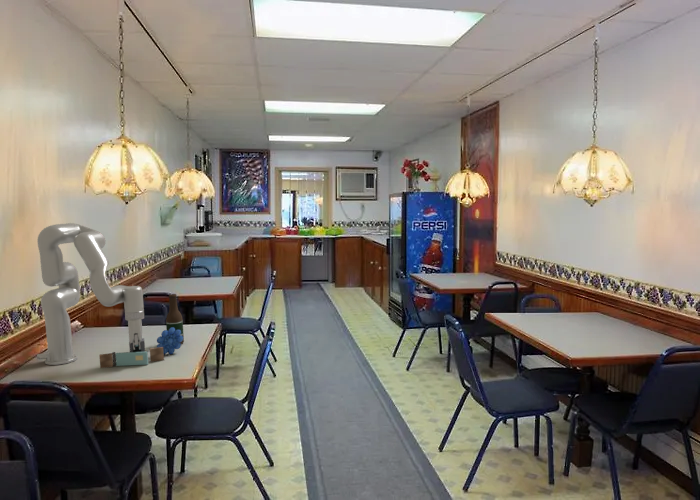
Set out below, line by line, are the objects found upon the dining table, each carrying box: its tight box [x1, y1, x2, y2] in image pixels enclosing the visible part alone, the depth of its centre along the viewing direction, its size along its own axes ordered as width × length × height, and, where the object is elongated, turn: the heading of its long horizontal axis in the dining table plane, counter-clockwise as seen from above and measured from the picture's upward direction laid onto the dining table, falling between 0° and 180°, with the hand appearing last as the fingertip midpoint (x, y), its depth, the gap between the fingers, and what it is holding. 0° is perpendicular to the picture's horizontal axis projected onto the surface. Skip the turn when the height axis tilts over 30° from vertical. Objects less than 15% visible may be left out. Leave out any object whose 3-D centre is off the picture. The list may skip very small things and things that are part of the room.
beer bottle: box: [165, 293, 185, 345], centre depth 257 cm, size 8×8×24 cm
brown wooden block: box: [99, 347, 165, 369], centre depth 229 cm, size 25×1×6 cm, turn 110°
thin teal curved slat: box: [115, 351, 149, 367], centre depth 227 cm, size 13×1×5 cm, turn 92°
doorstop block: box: [128, 337, 146, 352], centre depth 232 cm, size 6×5×9 cm
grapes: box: [155, 327, 183, 355], centre depth 242 cm, size 12×7×12 cm, turn 116°
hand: (137, 356), depth 232 cm, fingers closed on doorstop block, 5 cm apart
